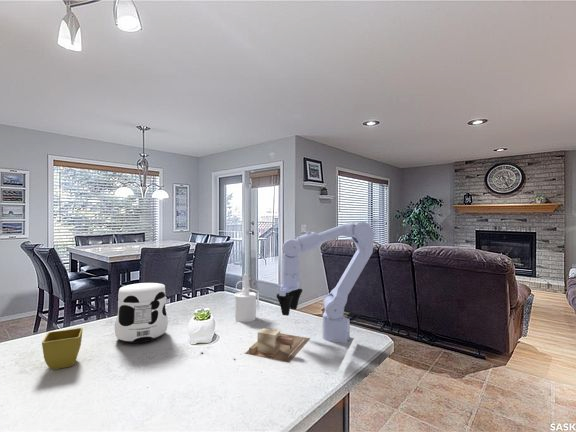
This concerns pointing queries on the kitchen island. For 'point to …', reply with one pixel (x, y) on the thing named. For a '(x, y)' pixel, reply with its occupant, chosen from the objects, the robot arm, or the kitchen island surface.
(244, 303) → the white soap dispenser
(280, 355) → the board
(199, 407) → the kitchen island surface
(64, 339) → the flower pot
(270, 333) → the mallet
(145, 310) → the milk container
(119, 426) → the kitchen island surface
